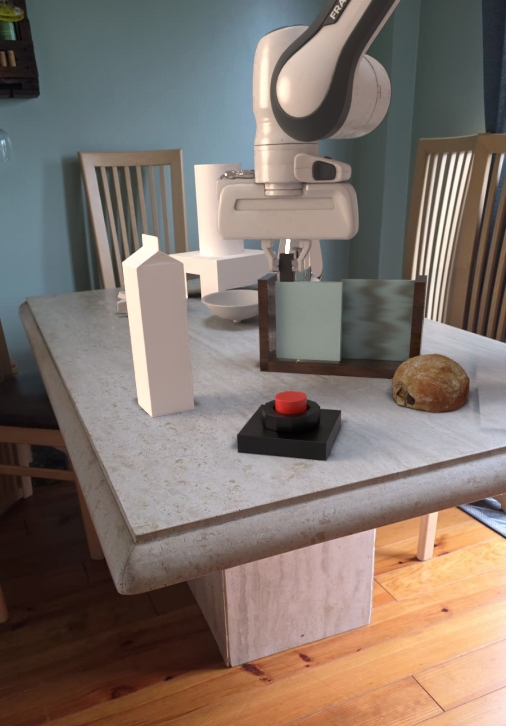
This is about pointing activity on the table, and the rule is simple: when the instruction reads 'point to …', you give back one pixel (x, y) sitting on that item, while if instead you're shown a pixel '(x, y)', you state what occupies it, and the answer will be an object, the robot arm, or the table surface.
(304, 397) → the button
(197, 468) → the table surface
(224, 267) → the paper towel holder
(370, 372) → the window frame
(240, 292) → the dish
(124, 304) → the bunny figurine
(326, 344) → the window
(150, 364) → the milk
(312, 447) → the button box
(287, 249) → the wineglass
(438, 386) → the bread roll
